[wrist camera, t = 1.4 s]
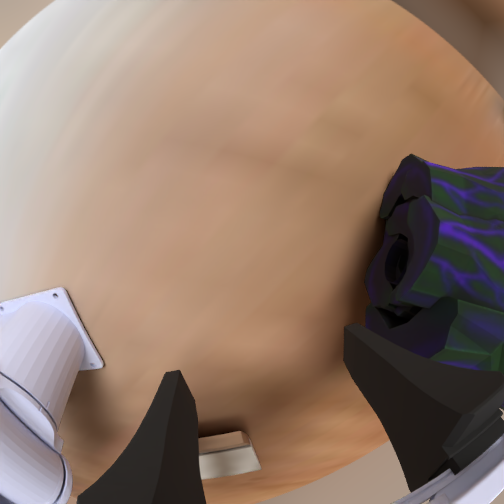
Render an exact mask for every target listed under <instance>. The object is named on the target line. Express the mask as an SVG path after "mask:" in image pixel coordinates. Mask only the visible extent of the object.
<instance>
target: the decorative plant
mask: <svg viewBox="0 0 504 504" xmlns="http://www.w3.org/2000/svg"><path fill="white" fill-rule="evenodd" d="M380 218H382V219H385V220H386V226H385V234H384V241H383V246H382V247H381V249H380V250H379V251H378V253H377V254H376V256H375V257H374V259H373V261H372V262H371V264H370V266H369V267H368V269H367V272H366V277H365V281H364V283H365V286H366V289H367V292H368V295H369V297H370V300H371V303H370V304H369V305H368V306H367V308H366V327H365V328H367V329H369V330H371V331H372V332H374V333H376V334H378V335H379V336H381V337H383V338H385V339H386V340H388V341H390V342H392V343H394V344H396V345H398V346H400V347H402V348H404V349H406V350H408V351H410V352H413V353H415V354H417V355H420V356H422V357H425V358H428V359H431V360H433V361H436V362H440V363H443V364H447V365H451V366H455V367H460V368H466V369H473V370H483V371H500V372H501V373H502V374H504V167H472V168H463V169H452V168H449V167H445V166H441V165H438V164H434V163H430V162H428V161H426V160H424V159H422V158H419V157H417V156H415V155H413V154H410V155H409V156H407V157H406V158H404V159H403V160H402V161H401V163H400V165H399V167H398V169H397V171H396V173H395V175H394V176H393V178H392V180H391V182H390V184H389V186H388V187H387V189H386V191H385V193H384V197H383V203H382V207H381V210H380ZM500 408H501V409H503V410H504V402H503V403H502V405H501V406H500Z"/></svg>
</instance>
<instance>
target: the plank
mask: <svg viewBox="0 0 504 504" xmlns="http://www.w3.org/2000/svg"><path fill="white" fill-rule="evenodd" d="M198 440H199V453H205V452H212V451H218V450H224V449H229V448H235V447H240V446H244V445H249V444H250V440H249V437H248V435H247V434H245V433H244V432H242V431H237V432H232V433H227V434H222V435H216V436H210V437H204V438H198Z"/></svg>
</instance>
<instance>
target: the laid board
mask: <svg viewBox="0 0 504 504" xmlns="http://www.w3.org/2000/svg"><path fill="white" fill-rule="evenodd" d="M249 440H250V438H249ZM199 466H200V474H201V480H202V479H210V478H218V477H224V476H230V475H236V474H242V473H247V472H252V471H257V470H261V465H260V462H259V459H258V457H257V455H256V452H255V450H254V448H253V445H252V443H251V440H250V444H249V445H244V446H240V447H235V448H229V449H224V450H218V451H212V452H205V453H199Z"/></svg>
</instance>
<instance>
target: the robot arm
mask: <svg viewBox="0 0 504 504" xmlns="http://www.w3.org/2000/svg"><path fill="white" fill-rule="evenodd" d="M55 293H56V294H57V295H58V297H57V296H56V295H55ZM3 308H4V309H3ZM343 361H344V363H345V365H346V367H347V369H348V371H349V373H350V375H351V377H352V379H353V380H354V382H355V383H356V385H357V386H358V388H359V389H360V391H361V392H362V394H363V395H364V397H365V398H366V400H367V401H368V402H369V404H370V405H371V407H372V408H373V410H374V411H375V413H376V414H377V416H378V418H379V419H380V421H381V423H382V425H383V427H384V429H385V431H386V433H387V435H388V437H389V439H390V441H391V443H392V445H393V448H394V450H395V452H396V454H397V457H398V459H399V462H400V464H401V467H402V470H403V472H404V475H405V478H406V481H407V484H408V487H409V490H410V492H411V493H410V494H408V495H407V496H405V497H403V498H401V499H399V500H397V501H395V502H393V503H391V504H422V503H423V502H425V501H427V500H428V499H430V500H429V503H428V504H489V503H490V502H492V501H493V500H494V498H496V497H497V496H498V494H500V493H501V492H502V490H503V489H504V420H503V419H502V418H501V416H502V414H503V412H502V411H501V410H500V409H499V408H500V406H501V405H502V403H503V402H504V374H502V373H501V372H500V371H483V370H473V369H466V368H460V367H455V366H451V365H447V364H443V363H440V362H436V361H433V360H431V359H428V358H425V357H422V356H420V355H417V354H415V353H413V352H410V351H408V350H406V349H404V348H402V347H400V346H398V345H396V344H394V343H392V342H390V341H388V340H386V339H385V338H383V337H381V336H379V335H378V334H376V333H374V332H372V331H371V330H369V329H367V328H365V327H364V326H362V325H360V324H358V323H354V324H351V325H348V326H346V327H344V358H343ZM92 363H94V364H92ZM103 365H104V363H103V361H102V359H101V357H100V355H99V354H98V352H97V350H96V349H95V347H94V345H93V343H92V341H91V340H90V338H89V336H88V334H87V332H86V330H85V328H84V327H83V325H82V323H81V321H80V319H79V317H78V315H77V313H76V311H75V309H74V306H73V304H72V302H71V300H70V298H69V296H68V294H67V291H66V290H65V289H64V288H62V287H58V288H54V289H50V290H47V291H43V292H39V293H35V294H31V295H27V296H23V297H19V298H16V299H12V300H8V301H4V302H1V303H0V504H67V502H68V500H69V497H70V495H71V491H72V484H73V475H72V470H71V467H70V464H69V462H68V460H67V459H66V458H65V456H64V455H63V454H61V451H62V447H63V443H64V441H63V440H62V439H61V438H60V437H59V435H58V434H57V432H58V428H59V425H60V422H61V419H62V416H63V413H64V410H65V407H66V404H67V401H68V398H69V395H70V392H71V389H72V387H73V384H74V381H75V379H76V376H77V373H78V371H81V370H91V369H100V368H102V367H103ZM77 504H206V500H205V495H204V491H203V486H202V480H201V474H200V466H199V440H198V418H197V411H196V404H195V399H194V397H193V396H192V394H191V392H190V390H189V388H188V386H187V384H186V382H185V380H184V378H183V376H182V373H181V371H180V370H176V371H171V372H166V373H165V374H164V377H163V379H162V381H161V384H160V386H159V388H158V391H157V393H156V395H155V397H154V399H153V402H152V404H151V406H150V408H149V410H148V412H147V414H146V416H145V418H144V419H143V421H142V423H141V425H140V427H139V428H138V430H137V432H136V434H135V435H134V437H133V438H132V440H131V441H130V443H129V444H128V446H127V447H126V449H125V450H124V451H123V452H122V454H121V455H120V456H119V458H118V459H117V460H116V461H115V463H114V464H113V465H112V466H111V467H110V468H109V469H108V470H107V471H106V472H105V473H104V474H103V475H102V476H101V477H100V478H99V479H98V480H97V481H96V482H95V483H94V484H93V485H91V486H90V487H89V488H88V489H86V490H85V491H84V492H83V493H81V494H80V495H79V496H78V498H77Z"/></svg>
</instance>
